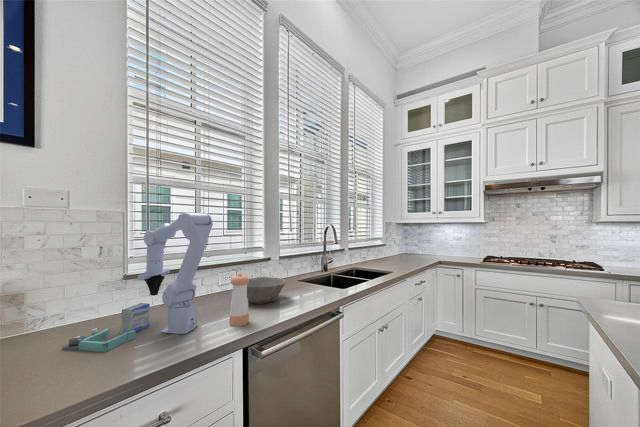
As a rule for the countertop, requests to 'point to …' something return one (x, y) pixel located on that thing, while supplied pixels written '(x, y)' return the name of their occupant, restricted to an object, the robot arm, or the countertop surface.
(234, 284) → the salt shaker
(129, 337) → the chassis
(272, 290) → the ceramic bowl
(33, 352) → the countertop surface
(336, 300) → the countertop surface
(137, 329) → the medicine box
